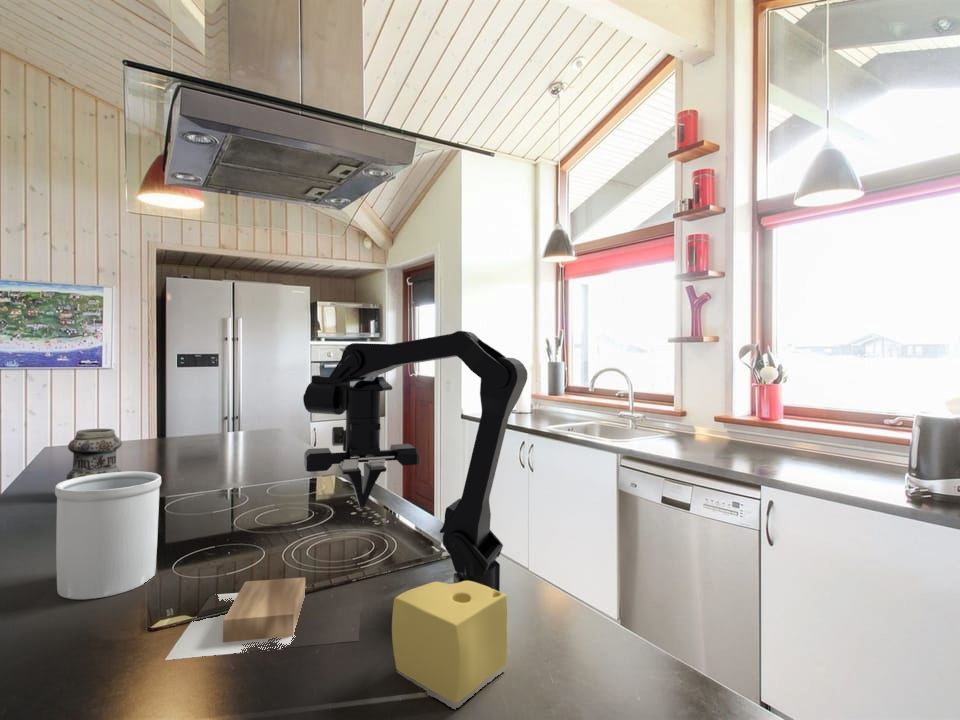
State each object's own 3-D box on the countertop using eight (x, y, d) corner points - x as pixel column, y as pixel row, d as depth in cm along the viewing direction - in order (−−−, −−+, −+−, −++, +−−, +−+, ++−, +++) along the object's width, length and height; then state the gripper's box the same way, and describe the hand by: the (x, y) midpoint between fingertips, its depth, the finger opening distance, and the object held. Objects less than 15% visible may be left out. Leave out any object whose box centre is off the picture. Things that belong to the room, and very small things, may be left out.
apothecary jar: (129, 494, 143) (129, 429, 143) (78, 504, 133) (78, 434, 133) (109, 487, 150) (109, 425, 149) (58, 497, 139) (59, 430, 139)
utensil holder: (143, 557, 99) (144, 466, 99) (174, 579, 89) (174, 478, 89) (44, 583, 87) (45, 480, 87) (67, 611, 78) (68, 496, 78)
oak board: (305, 577, 83) (245, 581, 81) (293, 614, 71) (223, 620, 69) (305, 595, 83) (245, 600, 81) (293, 635, 71) (222, 642, 69)
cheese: (448, 642, 71) (448, 569, 71) (511, 673, 64) (512, 593, 64) (390, 678, 63) (390, 596, 63) (455, 718, 56) (456, 626, 56)
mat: (363, 586, 87) (363, 583, 87) (359, 644, 70) (359, 641, 70) (209, 598, 83) (209, 594, 83) (164, 664, 65) (164, 660, 65)
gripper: (404, 410, 99) (403, 490, 100) (302, 412, 92) (301, 499, 92) (420, 416, 89) (419, 506, 89) (307, 420, 82) (306, 518, 82)
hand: (361, 506), depth 89 cm, fingers closed
